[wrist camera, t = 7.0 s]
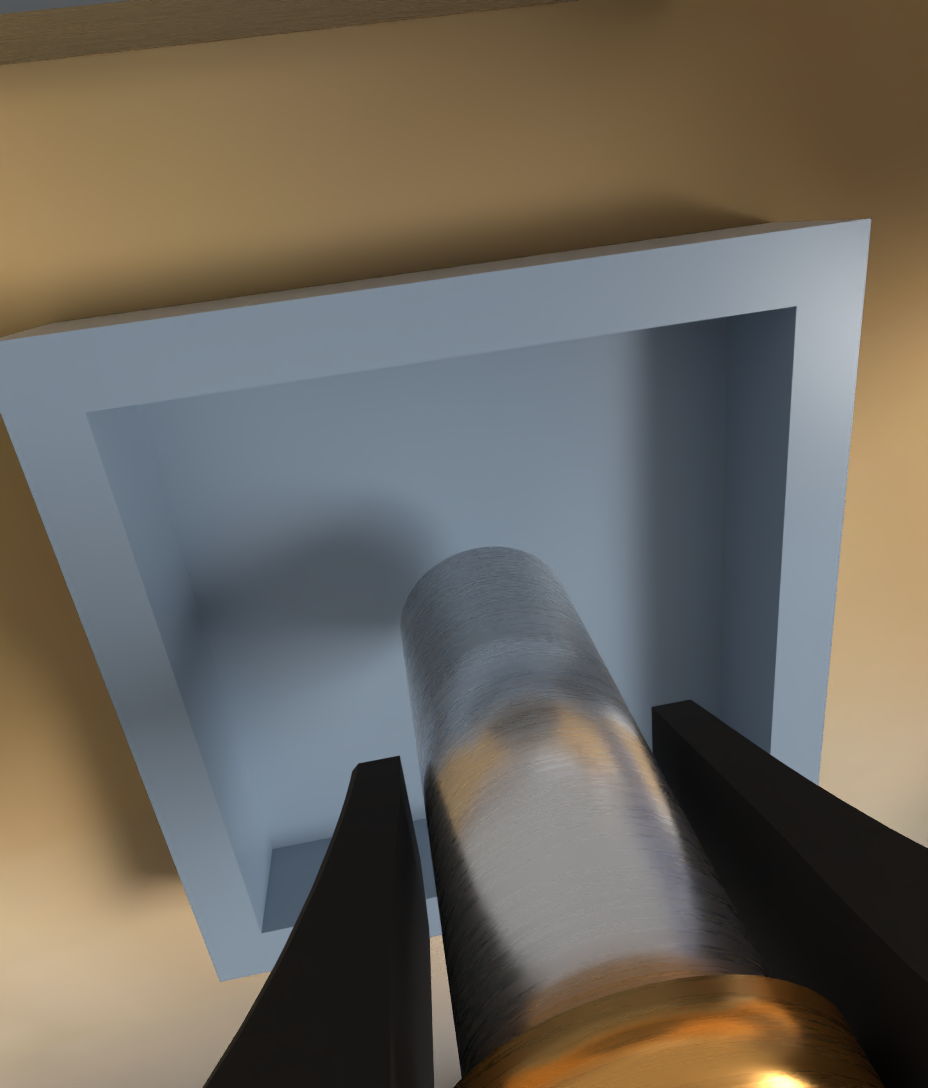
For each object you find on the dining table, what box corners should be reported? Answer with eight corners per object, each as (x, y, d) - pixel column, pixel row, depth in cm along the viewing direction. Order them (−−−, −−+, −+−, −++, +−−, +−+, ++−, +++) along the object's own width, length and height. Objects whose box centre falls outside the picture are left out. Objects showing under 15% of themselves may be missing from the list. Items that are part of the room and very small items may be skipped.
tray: (774, 222, 14) (871, 218, 12) (749, 771, 20) (811, 855, 17) (51, 323, 13) (-27, 344, 11) (239, 874, 19) (219, 981, 16)
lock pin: (585, 508, 13) (957, 1034, 5) (591, 684, 15) (869, 1256, 7) (360, 547, 12) (400, 1170, 5) (397, 722, 14) (466, 1364, 7)
